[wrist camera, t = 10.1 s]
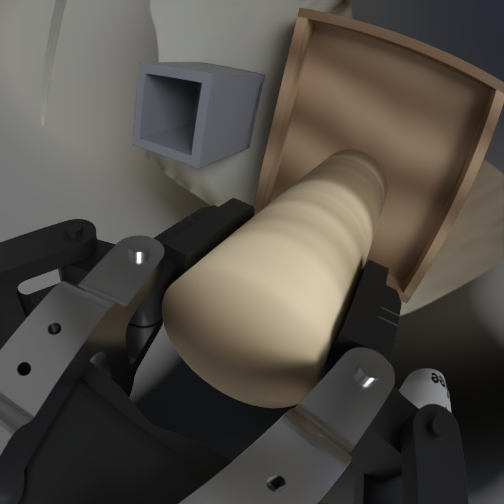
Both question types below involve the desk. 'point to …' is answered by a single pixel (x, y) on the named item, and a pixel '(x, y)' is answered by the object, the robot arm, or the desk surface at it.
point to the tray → (384, 129)
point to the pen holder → (195, 110)
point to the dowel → (279, 285)
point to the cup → (426, 388)
